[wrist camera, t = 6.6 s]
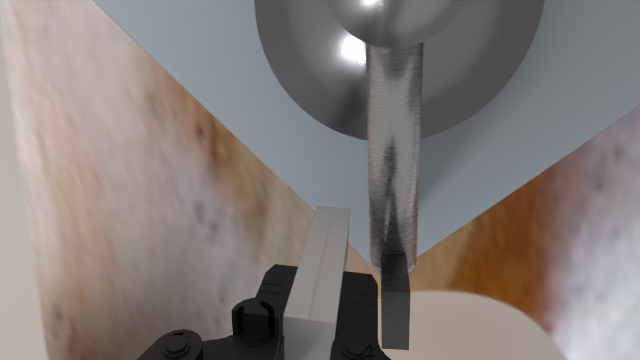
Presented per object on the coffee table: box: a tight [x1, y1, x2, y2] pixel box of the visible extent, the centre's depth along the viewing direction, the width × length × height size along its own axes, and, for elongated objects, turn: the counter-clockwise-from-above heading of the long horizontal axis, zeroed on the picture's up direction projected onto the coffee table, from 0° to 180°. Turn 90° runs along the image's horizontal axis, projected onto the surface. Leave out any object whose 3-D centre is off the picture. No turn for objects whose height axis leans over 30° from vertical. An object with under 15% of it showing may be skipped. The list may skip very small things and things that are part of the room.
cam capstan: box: [254, 0, 545, 350], centre depth 13 cm, size 20×10×7 cm, turn 4°
